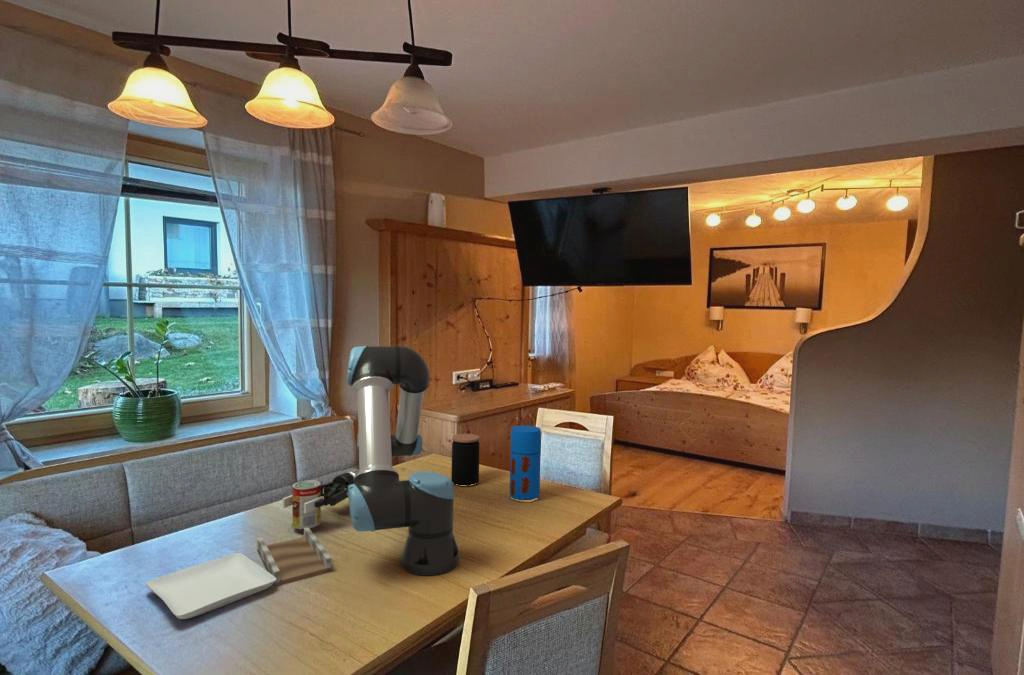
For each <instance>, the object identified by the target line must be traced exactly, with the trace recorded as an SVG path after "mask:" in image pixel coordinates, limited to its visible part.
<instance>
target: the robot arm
mask: <svg viewBox="0 0 1024 675" xmlns="http://www.w3.org/2000/svg"><path fill="white" fill-rule="evenodd" d="M346 378H347V379H346V384H347V386H350V387H351V388H352V392H353V393H354V394H355V395H357V414H358V415H357V416H358V417H357V418H358V420H357V422H358V424H357V425H358V433H357V438H356V439H357V440H356V441H357V443H356V457H357V458H356V460H357V461H356V468H353V469H350V470H348V471H346V472H343V473H341V474H338V475H336V476H335V477H334V478H333V479H332V481H331V482H328V483H325V484H323V481H319V482H320V483H321V497H319V498H316V499H314V500H311V501H309V502H307V503H304V513H308V512H310V511H312V510H314V509H317V508H319V507H321V508H322V507H323V506H324V507H325V506H330V507H334V506H336V505H337V504H339V503H340V502H342V501H344V500H346V499H348V507H349V514H350V520H351V524H352V528H353V529H354V530H355V531H357V532H361V533H362V532H375V531H383V530H391V529H400V528H408V532H407V533H408V534H407V536H406V540H405V543H404V546H403V550H402V552H401V558H400V559H401V562H400V565H401V567H402V568H403V569H404V570H405V571H407V572H408V573H410V574H414V575H419V576H436V575H437V576H438V575H442V574H444V573H448V572H450V571H452V570H454V568H456V567H457V566H458V564H459V562H460V551H459V547H458V545H457V542H456V541H457V540H456V538H455V535H454V530H453V529H454V498H455V494H454V484H453V482H452V480H451V478H450V477H449V476H447V475H446V474H442V473H439V472H434V471H426V470H424V471H423V470H422V471H421V470H420V471H416V472H411V473H410V474H409V476H408V480H406V479H405V480H400V474H399V472H398V471H397V470H395V469H393V457H411V456H417V455H420V454H422V452H423V437H422V435H421V433H419V428H420V422H421V415H422V408H423V404H424V399H425V398H424V396H425V391H427V390H428V388H429V385H430V379H431V378H430V370H429V367H428V364H427V362H426V361H425V359H424V358H423V357H422V355H421V354H420V353H419V352H417V351H416V350H414V349H413V348H411V347H408V346H405V345H394V346H393V345H392V346H391V345H388V346H384V345H383V346H378V345H377V346H374V345H373V346H369V345H364V346H363V345H362V346H360V345H359V346H355V347H353V348H352V349H351V350H350V354H349V360H348V367H347V376H346ZM394 385H398V386H399V388H400V393H399V399H398V400H399V402H398V409H397V411H398V412H397V419H396V429H395V434H392V433H391V418H390V417H391V416H390V400H389V393H391V392H392V391H393V389H394ZM281 501H282V503H281V506H282V507H281V508H282V509H285V508H289V507H291V506H292V502H293V494H291V495H288V496H286V497H283V498H282V500H281Z"/></svg>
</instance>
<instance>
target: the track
mask: <svg viewBox="0 0 1024 675" xmlns="http://www.w3.org/2000/svg"><path fill="white" fill-rule="evenodd" d="M256 540H257V541H256V542H257V543H256V545H257V547H256V548H257V550H256V551H257V554H258V555H259V558H260V559H261V562H262V563H263V566H264V569H265V570H266V571H267V572H269V573H270V574H272V575H273V576H274V577H275V578H276V581H275V582H274V583H273V584H272V586H274V587H278V586H281V585H285V584H289V583H292V582H296V581H300V580H303V579H307V578H310V577H315V576H318V575H322V574H327V573H330V572H332V556H331V555H330V554H329V553H328V552H327V550H326V548H324V546H323V545H322V543H321V542H320V541H319V540H318V538H317V537H316V536H315V534H314V533H313V531H312V530H311V528H304V529H303V536H302V537H297V538H293V539H289V540H284V541H279V542H274V543H270V544H266V541H265V540H264V539H263V537H257V538H256Z"/></svg>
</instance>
